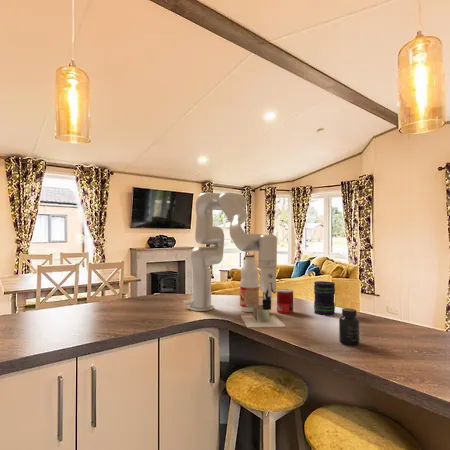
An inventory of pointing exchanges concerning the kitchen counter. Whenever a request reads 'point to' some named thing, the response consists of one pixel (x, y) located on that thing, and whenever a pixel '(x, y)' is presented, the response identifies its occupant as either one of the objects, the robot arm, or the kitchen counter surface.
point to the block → (260, 313)
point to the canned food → (285, 301)
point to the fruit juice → (249, 285)
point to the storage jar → (324, 298)
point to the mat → (252, 322)
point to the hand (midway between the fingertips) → (266, 309)
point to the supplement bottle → (349, 328)
